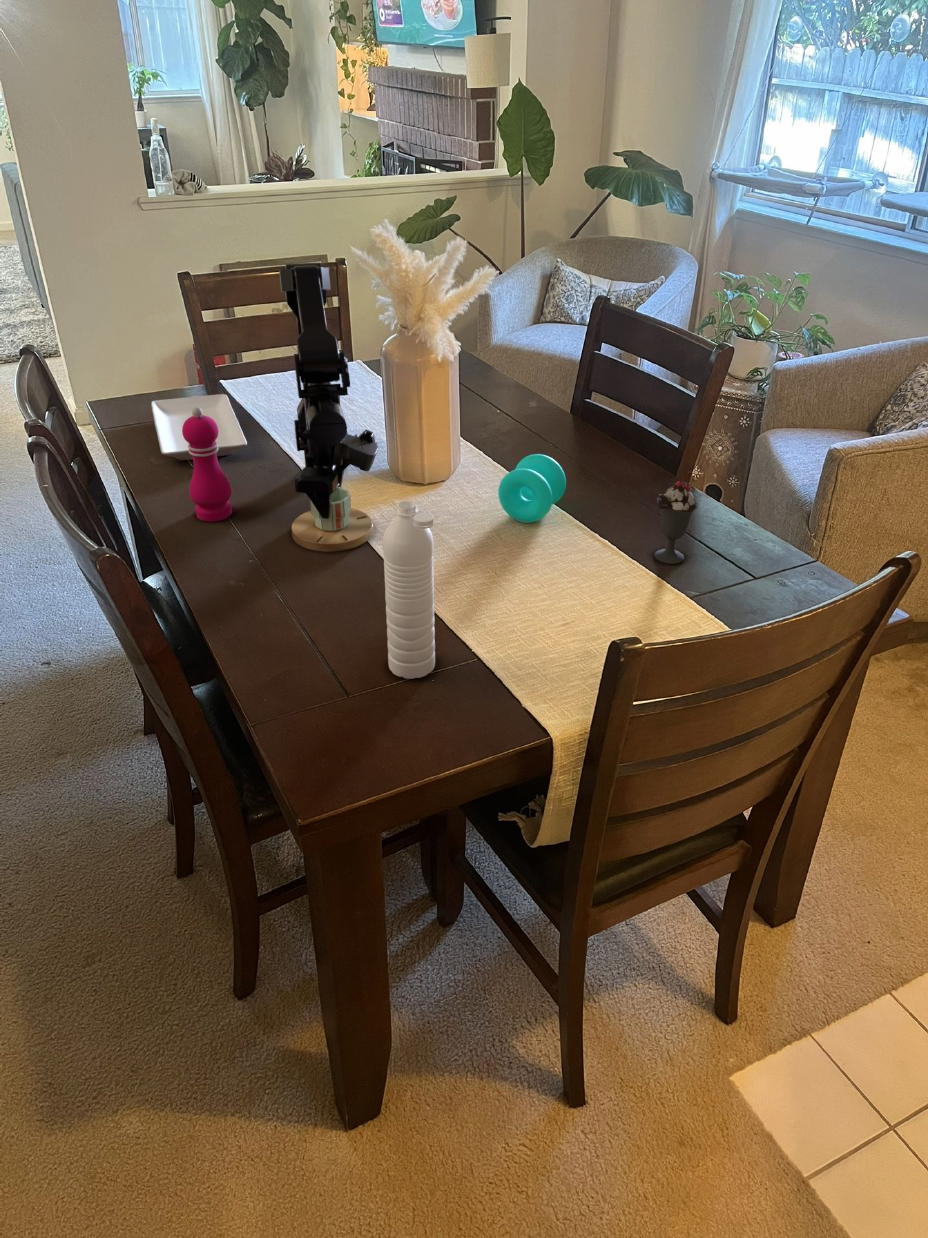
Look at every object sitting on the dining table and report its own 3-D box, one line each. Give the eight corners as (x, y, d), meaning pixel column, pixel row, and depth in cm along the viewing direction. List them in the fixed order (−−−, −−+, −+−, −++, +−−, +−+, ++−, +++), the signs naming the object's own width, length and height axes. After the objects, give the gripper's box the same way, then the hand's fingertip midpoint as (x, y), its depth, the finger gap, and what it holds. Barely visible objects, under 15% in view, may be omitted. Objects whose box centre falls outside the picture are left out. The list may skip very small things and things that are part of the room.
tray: (228, 406, 211) (226, 391, 209) (249, 458, 187) (247, 442, 185) (152, 414, 206) (149, 399, 204) (164, 469, 182) (161, 453, 180)
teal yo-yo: (494, 518, 165) (496, 467, 160) (516, 497, 173) (518, 447, 167) (546, 530, 162) (550, 478, 156) (566, 507, 169) (570, 457, 164)
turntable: (304, 511, 167) (303, 503, 166) (380, 516, 166) (379, 508, 165) (282, 548, 155) (281, 540, 154) (363, 554, 154) (363, 545, 153)
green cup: (317, 513, 163) (314, 485, 160) (356, 515, 162) (354, 487, 159) (307, 531, 157) (304, 502, 154) (347, 533, 156) (345, 504, 153)
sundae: (691, 550, 156) (705, 469, 147) (686, 569, 150) (700, 485, 142) (652, 544, 158) (664, 463, 149) (646, 562, 152) (657, 479, 144)
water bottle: (380, 660, 129) (371, 499, 115) (421, 647, 131) (417, 488, 118) (409, 694, 122) (404, 527, 109) (451, 679, 125) (451, 515, 111)
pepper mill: (223, 525, 162) (205, 417, 151) (186, 520, 164) (166, 413, 153) (241, 507, 168) (226, 402, 157) (206, 503, 169) (188, 398, 158)
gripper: (360, 447, 141) (365, 537, 149) (383, 404, 156) (387, 488, 165) (289, 443, 142) (298, 533, 150) (319, 401, 157) (326, 484, 166)
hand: (330, 508), depth 158 cm, fingers closed on green cup, 7 cm apart
